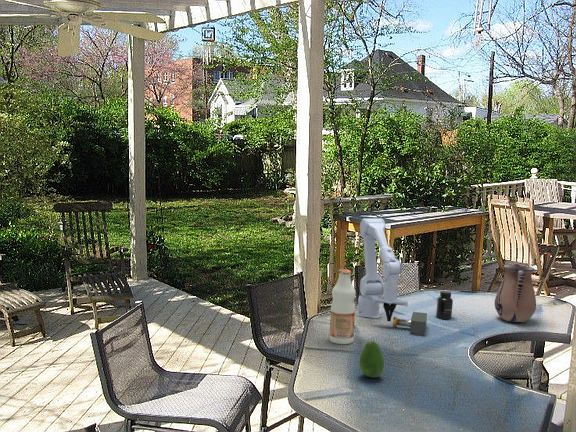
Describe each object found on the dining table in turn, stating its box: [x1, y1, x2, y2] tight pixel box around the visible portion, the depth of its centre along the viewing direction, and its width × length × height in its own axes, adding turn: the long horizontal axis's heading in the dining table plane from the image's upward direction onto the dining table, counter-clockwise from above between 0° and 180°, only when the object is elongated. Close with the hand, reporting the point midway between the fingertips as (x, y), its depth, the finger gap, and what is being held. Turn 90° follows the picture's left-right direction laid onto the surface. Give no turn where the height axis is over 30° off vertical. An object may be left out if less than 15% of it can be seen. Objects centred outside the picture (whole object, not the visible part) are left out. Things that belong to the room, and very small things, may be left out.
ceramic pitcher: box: [494, 263, 537, 323], centre depth 268 cm, size 18×21×25 cm
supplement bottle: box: [435, 290, 454, 321], centre depth 270 cm, size 7×7×12 cm
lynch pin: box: [392, 316, 411, 328], centre depth 251 cm, size 12×4×4 cm, turn 75°
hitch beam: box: [409, 311, 428, 337], centre depth 250 cm, size 6×14×6 cm, turn 165°
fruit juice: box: [328, 268, 357, 345], centre depth 231 cm, size 9×9×28 cm
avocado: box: [359, 340, 385, 379], centre depth 196 cm, size 8×8×12 cm
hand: (389, 320), depth 253 cm, fingers closed
